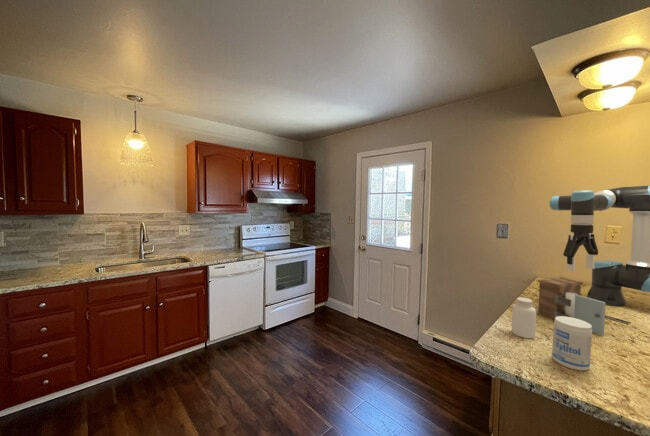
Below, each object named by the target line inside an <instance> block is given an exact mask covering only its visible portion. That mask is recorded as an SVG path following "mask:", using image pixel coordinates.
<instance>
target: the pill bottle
mask: <svg viewBox="0 0 650 436" xmlns="http://www.w3.org/2000/svg"><path fill="white" fill-rule="evenodd" d="M533 304H534V303H533V300H532V299H530V298H528V297H517V298H516V303H515V304H513V305H512V313H511V315H512V316H511V332H512V334H514V335H515V336H518V337H520V338H524V339H534V338H535V336H536V326H537V325H536V323H537V310H536V308H535V307H533Z"/></svg>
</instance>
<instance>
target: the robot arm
mask: <svg viewBox="0 0 650 436" xmlns="http://www.w3.org/2000/svg"><path fill="white" fill-rule="evenodd" d="M548 203H549V207H550V209H551V210H553V211H559V212H560V211H570V213H571V214H570V223H571V224H570V233H573V234H572V235H571V234H569V235H568V238H567V239H568V240H567V242H566V245H565V248H564V251H563V257H566V271H568V272H573V273H575V272H576V257H575V255H576V253H577V252H578V250H579V248H580V247H581V246H583V247H584V249H585V251H586V253H587V254H586V257H585V258H586V259H585V260H586V261H585V268H586V269H589V270H592V271H591V287H589V290H588V291H587V293H586V297H587V298H591V299H595V300H598V301H602V302H606V304H605V306H606V305H607V306H612V307H624V306H626V302H627V301H626V298H625V296H624V293H623V291H622V290H623V289H622V288H626V289H632V290H636V291H641V292H646V293H650V185H637V186H620V187H615V188H608V189H603V190H599V191H597V192H594V190H592V189H591V190H587V189H586V190H574V191H573V192H571V195H556V196H555V195H554V196H552V197H551V198H550V200H549V202H548ZM610 208H613V209H614V208H615V209H628V211H629V213H630V214H631V215H632V216H633V217H632V232H631V233H632V234H631V247H630V248H631V249H630V260H629V261H627V262H625V265H624V263H623V261H617V260H616V261H615V260H596V259H595V256H598V255H599V248H598V246H597V242H596V238H595V234H594V222H595V220H594V218H595V217H594V216H595V214H594V213H595V212H597V211H599V212H602V211H606V210H609V209H610ZM595 260H596V261H595Z"/></svg>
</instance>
